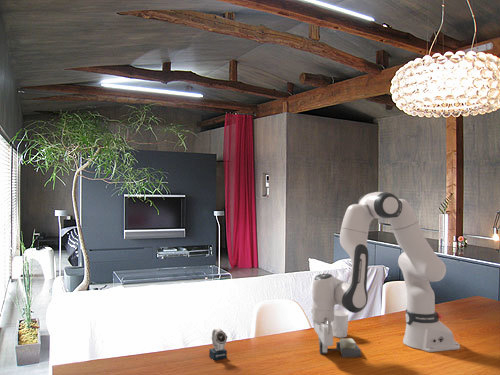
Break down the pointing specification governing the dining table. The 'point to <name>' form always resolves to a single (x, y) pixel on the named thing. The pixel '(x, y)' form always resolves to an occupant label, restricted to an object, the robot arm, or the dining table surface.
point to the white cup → (340, 324)
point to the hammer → (341, 345)
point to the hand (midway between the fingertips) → (323, 349)
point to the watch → (218, 345)
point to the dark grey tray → (349, 351)
